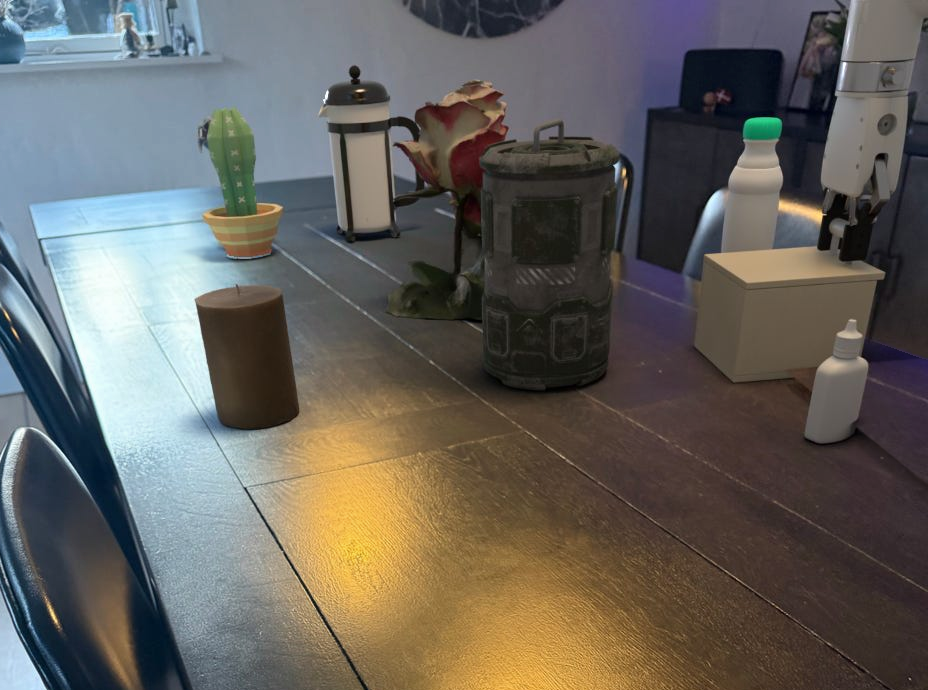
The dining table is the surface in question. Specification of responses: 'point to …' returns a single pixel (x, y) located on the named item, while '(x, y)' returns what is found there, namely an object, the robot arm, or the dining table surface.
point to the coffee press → (364, 156)
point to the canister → (548, 258)
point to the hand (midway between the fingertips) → (841, 253)
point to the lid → (793, 265)
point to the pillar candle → (248, 355)
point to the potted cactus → (237, 187)
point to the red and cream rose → (457, 171)
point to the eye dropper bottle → (838, 390)
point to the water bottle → (754, 190)
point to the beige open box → (775, 324)
